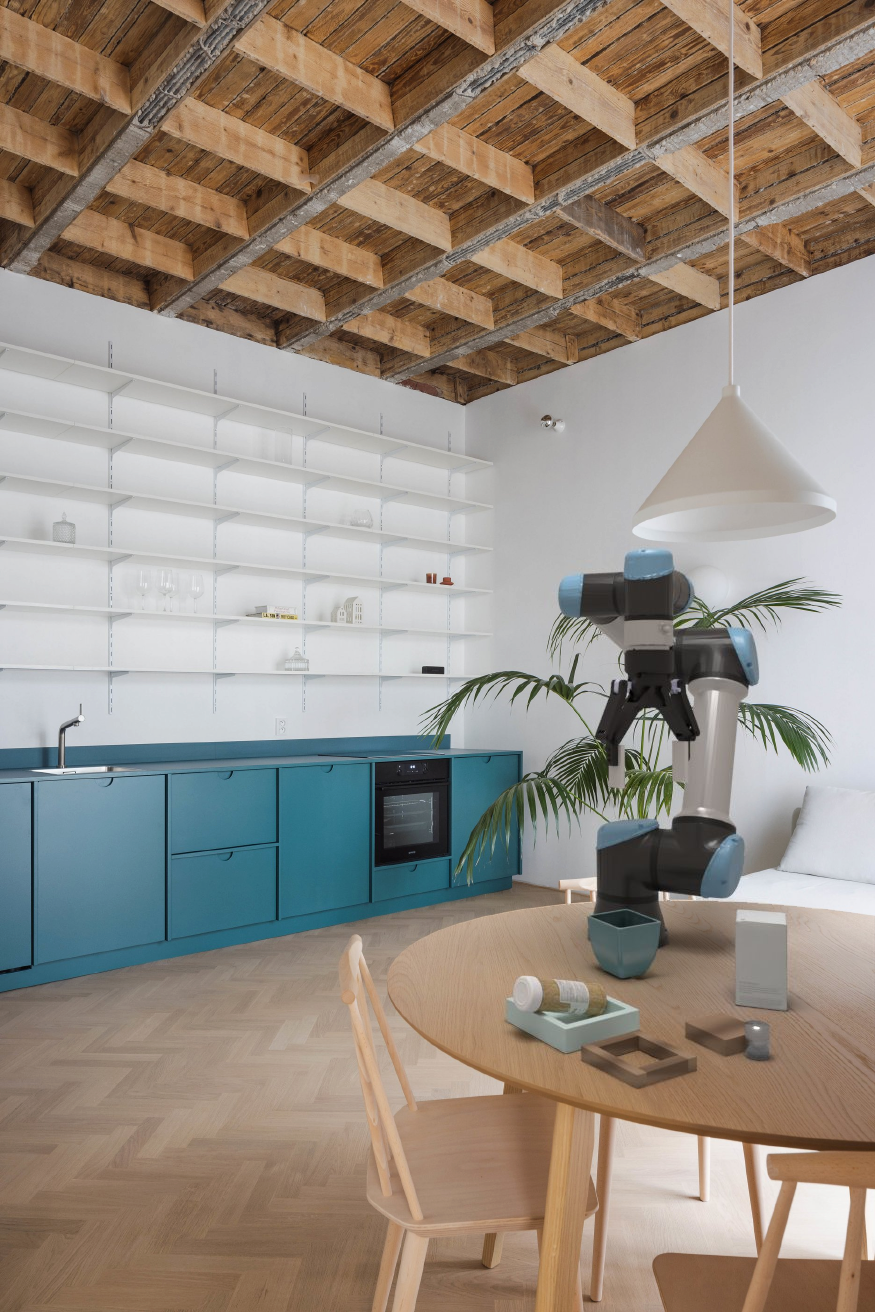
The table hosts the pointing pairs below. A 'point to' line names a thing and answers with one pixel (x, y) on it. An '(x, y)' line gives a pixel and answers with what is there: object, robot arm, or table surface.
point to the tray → (575, 1024)
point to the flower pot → (624, 941)
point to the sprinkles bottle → (559, 996)
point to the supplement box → (761, 959)
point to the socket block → (669, 1066)
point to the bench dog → (757, 1040)
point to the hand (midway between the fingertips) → (649, 785)
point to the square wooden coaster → (717, 1033)
